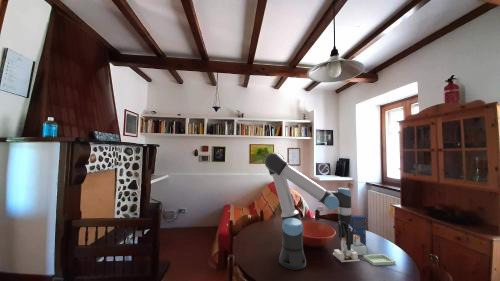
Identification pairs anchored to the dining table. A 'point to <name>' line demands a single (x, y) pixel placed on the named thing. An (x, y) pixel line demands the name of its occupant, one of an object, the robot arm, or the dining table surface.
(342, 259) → the cradle
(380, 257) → the trough
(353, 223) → the electronic device
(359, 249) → the grey open box
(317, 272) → the dining table surface
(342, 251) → the cell
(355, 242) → the cell
